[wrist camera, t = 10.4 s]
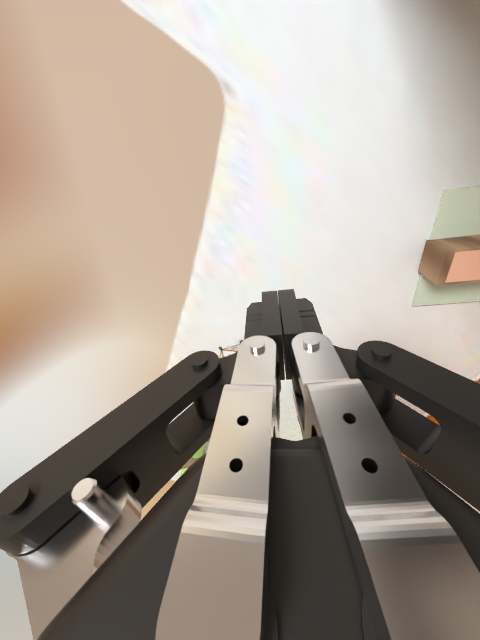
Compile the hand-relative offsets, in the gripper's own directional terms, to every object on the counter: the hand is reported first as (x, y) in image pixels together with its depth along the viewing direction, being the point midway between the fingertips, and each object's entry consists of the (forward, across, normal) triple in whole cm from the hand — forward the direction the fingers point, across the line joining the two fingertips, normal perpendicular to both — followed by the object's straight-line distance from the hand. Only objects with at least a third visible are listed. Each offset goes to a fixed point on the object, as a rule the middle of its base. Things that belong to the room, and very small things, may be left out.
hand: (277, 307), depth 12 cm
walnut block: (+26, -23, +10) cm, 36 cm away
